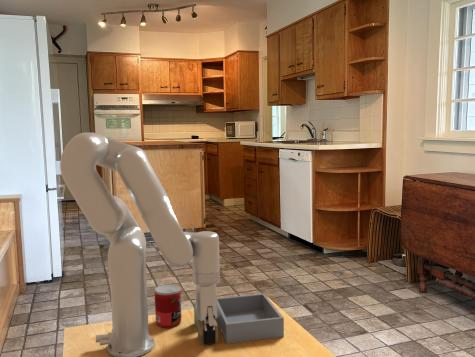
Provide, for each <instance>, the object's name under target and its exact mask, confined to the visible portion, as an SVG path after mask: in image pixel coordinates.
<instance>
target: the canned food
mask: <svg viewBox="0 0 475 357" xmlns="http://www.w3.org/2000/svg"><path fill="white" fill-rule="evenodd" d="M154 308H155V309H154V310H155V311H154V312H155V314H154V315H155V324H156V326H158V327H159V328H163V329H172V328H175V327H177V326H179V325H180V324H181V322H182V292H181V287H180V286H179V285H176V284H169V283H168V284H162V285H158V286H156V287H155V288H154Z"/></svg>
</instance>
